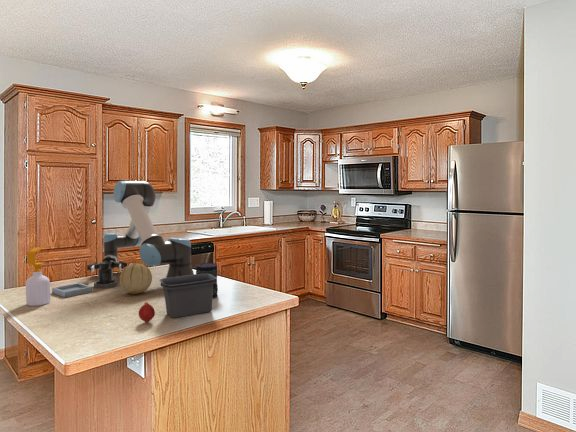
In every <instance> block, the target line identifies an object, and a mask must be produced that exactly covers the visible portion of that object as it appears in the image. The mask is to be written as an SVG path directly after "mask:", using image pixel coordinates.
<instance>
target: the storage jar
mask: <svg viewBox="0 0 576 432" xmlns="http://www.w3.org/2000/svg"><path fill="white" fill-rule="evenodd" d="M195 267H196V271H195V274H211V275H213V276H215V277H216V279H215V281H216V283H215V284H213V296H212V300H213V299H216V298H217V297H218V296H219V295H218V293H219V292H218V291H219V290H218V288H219V286H218V264H217V263H216V262H202V263H197V264H195Z"/></svg>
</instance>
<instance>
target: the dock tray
mask: <svg viewBox="0 0 576 432" xmlns="http://www.w3.org/2000/svg"><path fill="white" fill-rule="evenodd" d="M92 292H93V286H91V285H88V284H84V283H80V282H76V283H71V284H66V285H61V286H55V287H51V294H53V295H56V296H60V297H62V298H69V297H73V296H79V295H84V294H89V293H92Z"/></svg>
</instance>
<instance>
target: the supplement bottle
mask: <svg viewBox="0 0 576 432" xmlns="http://www.w3.org/2000/svg"><path fill="white" fill-rule="evenodd" d="M101 262H102V261H101ZM99 263H100V262H99ZM113 276H114V275H113V269H112V268H111V267H110V262H102V263H100V268H99V269H97V277H98V279H97V281H98V283H99V284H109V283H113V280H114V278H113Z"/></svg>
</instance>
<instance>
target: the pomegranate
mask: <svg viewBox="0 0 576 432" xmlns="http://www.w3.org/2000/svg"><path fill="white" fill-rule="evenodd" d="M155 313H156V312H155V308H154V307H153V306H152V305H151V304H150V303H148V301H144V304H143V305H141V307H140V308H139V310H138V317H139V319H140V320H142V321H143V322H144V323H149V322H151V320H153V318H154V317H155V316H156V314H155Z"/></svg>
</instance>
